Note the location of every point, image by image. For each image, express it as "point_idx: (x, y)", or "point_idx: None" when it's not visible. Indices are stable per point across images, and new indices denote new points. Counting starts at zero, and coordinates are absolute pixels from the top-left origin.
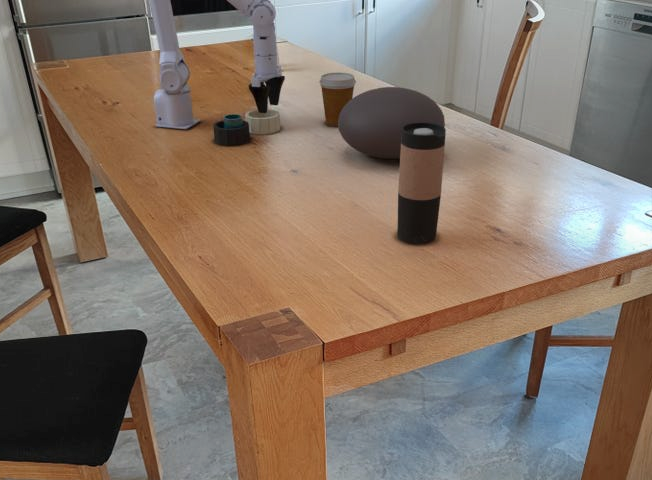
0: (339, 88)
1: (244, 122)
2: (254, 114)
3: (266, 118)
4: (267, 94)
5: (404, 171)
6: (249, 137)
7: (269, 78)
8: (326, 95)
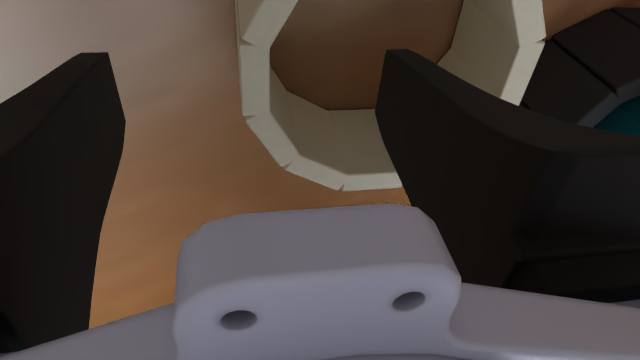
0: None
1: (612, 108)
2: (319, 148)
3: None
4: (528, 122)
5: None
6: (621, 17)
7: (569, 298)
8: None
